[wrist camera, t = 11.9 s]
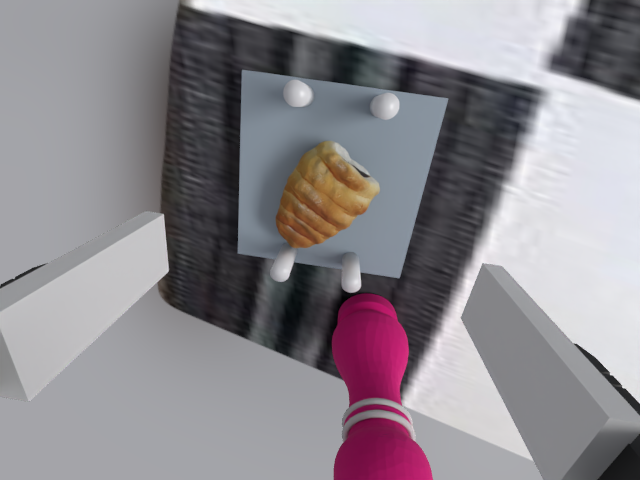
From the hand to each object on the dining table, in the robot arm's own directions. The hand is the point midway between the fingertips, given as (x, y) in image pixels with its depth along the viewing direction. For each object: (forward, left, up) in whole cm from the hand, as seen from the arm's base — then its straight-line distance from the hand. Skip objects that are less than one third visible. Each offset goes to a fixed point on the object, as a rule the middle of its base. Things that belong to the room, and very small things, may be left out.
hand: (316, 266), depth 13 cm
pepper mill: (+14, +6, -17) cm, 23 cm away
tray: (0, 0, -16) cm, 16 cm away
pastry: (+1, 0, -15) cm, 15 cm away
